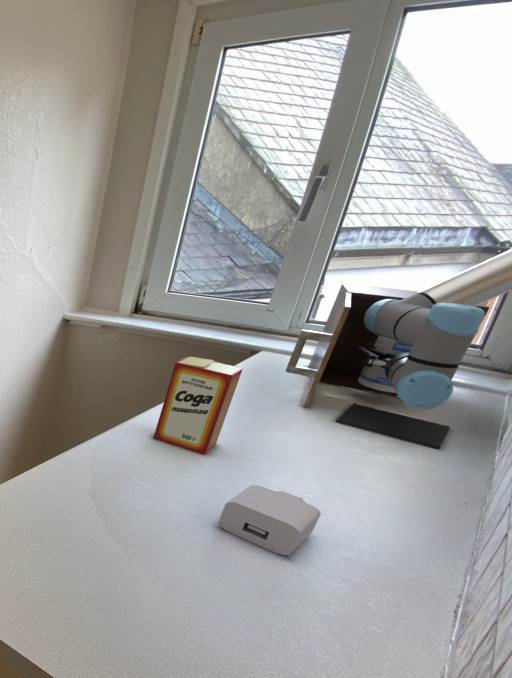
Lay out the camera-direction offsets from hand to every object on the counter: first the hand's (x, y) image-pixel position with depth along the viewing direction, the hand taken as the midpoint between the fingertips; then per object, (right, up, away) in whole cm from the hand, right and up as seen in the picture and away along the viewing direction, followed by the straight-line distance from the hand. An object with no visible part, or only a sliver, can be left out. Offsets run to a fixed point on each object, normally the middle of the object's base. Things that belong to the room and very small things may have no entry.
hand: (394, 351), depth 134 cm
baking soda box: (-66, -23, -26) cm, 75 cm away
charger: (-69, -35, -52) cm, 93 cm away
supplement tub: (-3, -9, 0) cm, 9 cm away
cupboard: (+6, -6, +14) cm, 16 cm away
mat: (-13, -19, -14) cm, 27 cm away
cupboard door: (-20, -9, +5) cm, 23 cm away
